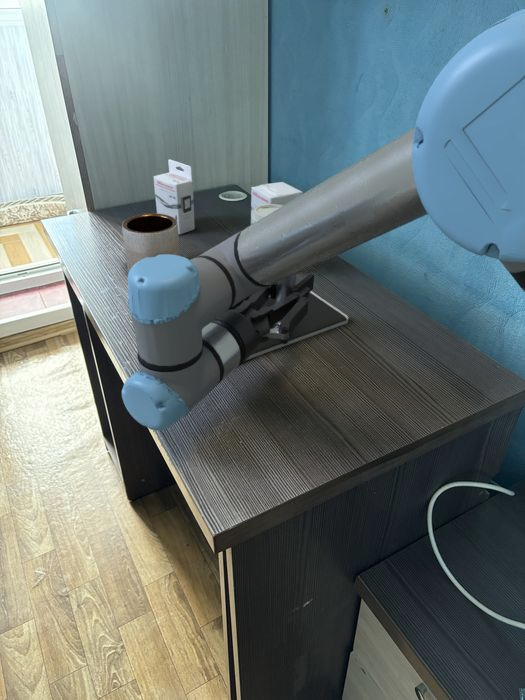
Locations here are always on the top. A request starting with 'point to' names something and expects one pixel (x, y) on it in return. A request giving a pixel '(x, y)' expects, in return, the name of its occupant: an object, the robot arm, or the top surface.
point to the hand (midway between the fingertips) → (301, 278)
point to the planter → (149, 237)
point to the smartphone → (306, 323)
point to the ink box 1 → (176, 195)
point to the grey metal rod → (285, 288)
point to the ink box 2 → (272, 195)
